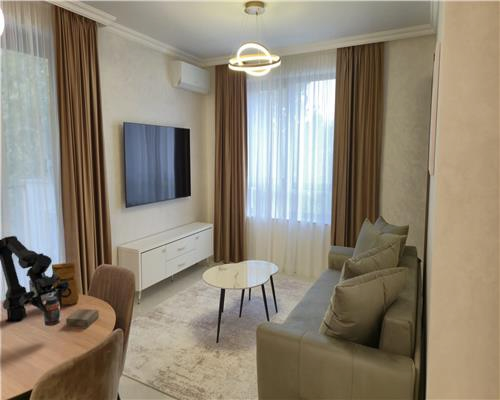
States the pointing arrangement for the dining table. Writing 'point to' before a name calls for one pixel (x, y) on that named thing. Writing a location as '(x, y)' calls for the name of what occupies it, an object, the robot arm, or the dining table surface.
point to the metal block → (82, 318)
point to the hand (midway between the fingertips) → (53, 309)
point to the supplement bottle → (52, 311)
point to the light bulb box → (43, 295)
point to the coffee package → (69, 275)
